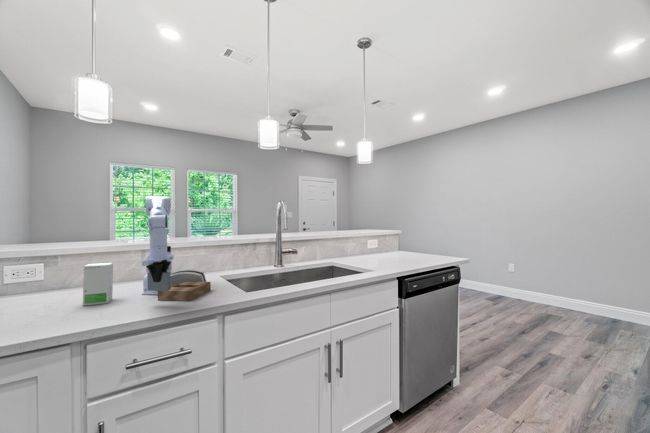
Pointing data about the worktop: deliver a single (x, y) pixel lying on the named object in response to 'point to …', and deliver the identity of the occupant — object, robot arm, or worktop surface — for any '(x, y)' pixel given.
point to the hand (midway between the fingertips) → (159, 281)
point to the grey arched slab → (187, 276)
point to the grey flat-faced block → (159, 286)
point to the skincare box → (97, 283)
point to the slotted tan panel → (184, 291)
